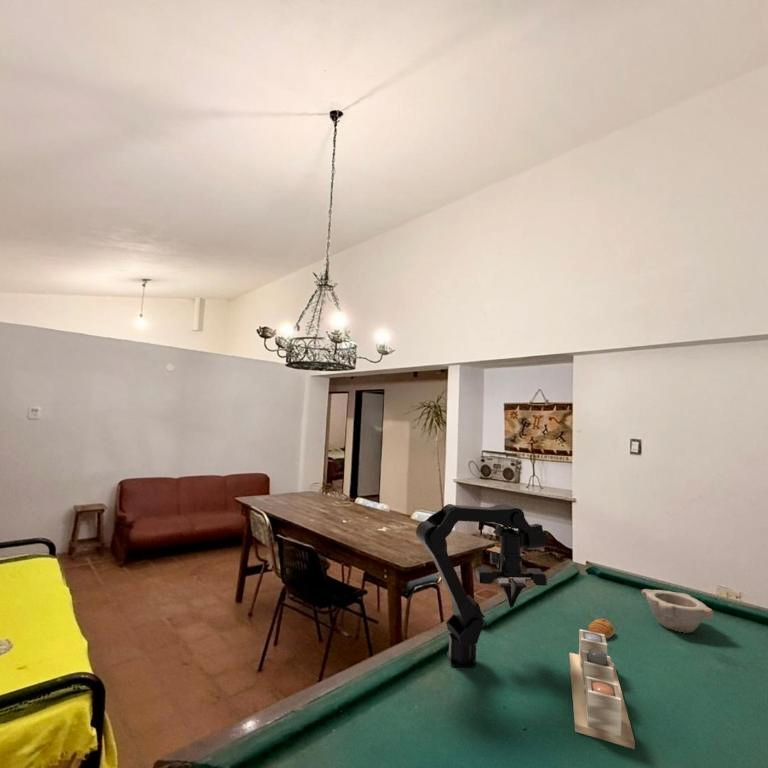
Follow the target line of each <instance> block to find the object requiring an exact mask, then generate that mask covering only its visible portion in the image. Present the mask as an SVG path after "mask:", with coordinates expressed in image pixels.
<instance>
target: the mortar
mask: <svg viewBox="0 0 768 768" xmlns="http://www.w3.org/2000/svg"><path fill="white" fill-rule="evenodd" d="M641 595H642V597H643V599H644V601H646V602H647V604H648V606H649V608H650V610H651V612H652V614H653V616H654V617H655V619H656V621H657V622H658V623H659V625H661V626H662V627H664V628H666V629H668V630H670V629H671V631H673V630H674V632H677V631H678V632H677V633H681V632H683V633H682V634H689V633H693V632H694V631H696V629H697V628H698V627H699V626H700V625H701V623H702V622H703V621H709V620H710V619H712V618H713V617H714V611H713V609H712V608H710V607H708V606H707V605H706V604H705V603H703V602H702V601H700V600H698V599H696V598H695V597H692V596H691V595H690V594H688V593H684V592H675V591H674V592H673V591H671V590H670V591H669V590H665V589H664V590H662V589H648V588H644V589H641Z"/></svg>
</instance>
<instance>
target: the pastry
mask: <svg viewBox="0 0 768 768" xmlns="http://www.w3.org/2000/svg"><path fill="white" fill-rule="evenodd" d="M588 631H591V632H595V633H600V634H604V635H605V639H606V640H608V639H611V637H613V635H615V633H616V630H615V628H614V627H613V626H612V623H611V622H610V621H609V620H607V619H605V618H597V619H595V620H593V621H591V622H590V624H589V625H588Z"/></svg>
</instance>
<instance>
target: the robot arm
mask: <svg viewBox="0 0 768 768" xmlns="http://www.w3.org/2000/svg"><path fill="white" fill-rule="evenodd" d="M458 522H473V523H474V522H475V523H476V522H477V523H489V524H490V523H493V524H497V525H498V527H497V528H495V529H494V530H493V534H495V535H497V536H499V537H500V539H499V540H500V550H499V555H498V551H497V552H493V551H490V554H489V563H490V564H491V565H496V568H497V569H498V570H499V571H498V570H497V571H493V570H492V568H491V567H490V566H478V567H477V568H476V570H475V573H476V574H475V576H476V578H477V580H478V582H479V584H483V585H486V584H488V585H492V583H494V582H495V581H496V582H497V584H498V585H499V587H500V588H502V589H503V591H504V594H505V597H506V601H507V604H508V607H509V608H511V609H512V608H514V605H515V603H516V601H517V599H518V597H519V596H520V594H521V592H522V590H523V589H526V588H527V584H526V583H525V582H526V581H527V580H529V581H532V583H534V584H535V586H544V587H546V586H548V578H547V575H546V574H545V573H544V572H543V571H542V569H541V568H537V567H536V568H533V567H531V568H529V567H528V568H526V572H525V571H524V572H522V562H523V557H522V549H524V550H540V549H545V548H546V547H547V545H548V538H547V535H546V533H545V530H544V529H543V525H542V524H540V523H533V524H530V523H529V522H528V521H527V519H526V517H525V513H524V511H523V509H522V508H519V507H517V506H514V505H511V504H508V503H502V504H501V503H500V504H495V505H493V506H477V505H476V506H475V505H457V504H452V503H449V504H446V505H444V506H443V507H442V508H441V509H440V510H438V511H436V512H435V513H433V514H432V515H430V516H429V517H428V518H427V519H426V520H423V521H421V522H420V523H419V524H418V525H417V528H416V529H415V535H416V537H417V539H418V541H420V543H421V544H422V546H423V547H424V548H425V550H426V551H427V552H428V554H429V555H430V556H431V559H432V560H433V563H434V565H435V567H436V569H437V571H438V573H439V575H440V577H441V580H442V582H443V584H444V586H445V589H446V590H447V592H448V595H449V597H450V599H451V609H452V612H453V614H452V615H451V616H450V617H449V618H448V620H447V621H446V622H445V625H446V628H447V631H449V633H448V635H449V638H448V651H446V652H447V653H446V654H447V656H448V657H447V658H448V660H449V664H450V666H451V667H455V666H464V667H463V668H476V663H475V662H476V660H477V644H478V642H479V639H480V636H481V632H482V630H483V629H484V626H485V619H484V618H485V615H484V614H483V613H482V610H481V606H480V604H479V602H477V601H476V600H475V598H472V596H471V595H469V594H467V593H466V591H465V588H464V586H463V584H462V582H461V580H460V578H459V575H458V573H457V571H456V568H455V567H454V565H453V562H452V560H451V558H450V555H449V554H448V553H449V552H448V542H447V537H448V536H449V535H450V534H451V533H452V531H453V530H454V528H455V526H456V524H457V523H458ZM509 580H510V581H509ZM465 666H466V667H465Z"/></svg>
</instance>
